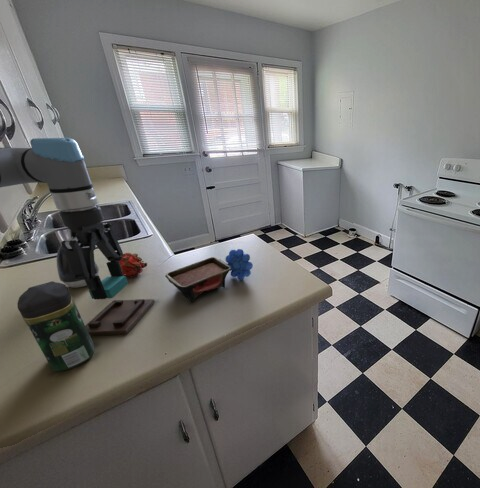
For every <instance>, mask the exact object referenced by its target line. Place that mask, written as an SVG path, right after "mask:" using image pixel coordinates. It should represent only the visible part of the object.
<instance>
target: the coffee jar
mask: <svg viewBox="0 0 480 488" xmlns="http://www.w3.org/2000/svg"><path fill="white" fill-rule="evenodd" d="M17 310H18V311H19V313H20V315H21V318H22V320H23V321H24V322H25V324H26V326H27V327H28V329H29V331H30V332H31V334H32V336H33V339H34V340H35V341H36V344H37V345H38V346H39V349H40V350H41V352H42V354H43V356H44V358H45V360H46V361H47V363H48V366H49V367H50V368H51V370H52V371H54V372H62V371H66V370H70V369H73V368H75V367H77V366H80V365H82V364H83V363H84V362H86V361H88V360H89V359H90V358H91V357H93V355H94V353H95V344H94V342H93V339H92V338H91V335H89V333H88V331H87V329H86V327H85V325H86V324H85V322H84V320H83V317H82V315H81V314H80V311H79V309H78V307H77V305H76V302H75V301H74V298H73V296H72V294H71V292H70V290H69V286H67V285H66V284H64V283H63V282H57V281H49V282H45V283H41V284H37V285H33V286H30V287H28V288H27V289H26V290H25V291H24V292H23V293H22V294H21V295H20V296H19V297H18V300H17Z"/></svg>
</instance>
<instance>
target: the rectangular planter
mask: <svg viewBox="0 0 480 488" xmlns="http://www.w3.org/2000/svg"><path fill="white" fill-rule="evenodd" d="M230 269H231V267H230V266H229V265H228V263H227V262H226V261H224V260H222V259H219V258H218V257H216V256H215V257H214V256H212V257H208V258H205V259H203V260H200V261H197V262H194V263H190V264H188V265H186V266H183V267H180V268H178V269H174V270H172V271H169V272H167V273H166V274H165V275H164V277H165V278H166V279H167V280H168V282H169V284H172V285H173V286H174V287H175V288H176V289H177V290H179V292H180V293H181V294H182V295H183V296H184V297H185V298H186V299H187V300H188V301H189V302H190V303H191V304H193V303H194V301H195V300H196V299H197V298H198V297H199V296H200V295H201V294H202V293H203V292H209V291H212V290H214V289H218V288H223V289H225V288H226V278H227V275H228V274H229V272H231V271H230Z"/></svg>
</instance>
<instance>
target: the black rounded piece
mask: <svg viewBox="0 0 480 488" xmlns="http://www.w3.org/2000/svg"><path fill="white" fill-rule="evenodd" d="M94 262H95V275H96V276H99V271H100V268H99V266H98V264H97V263H96V260H94ZM56 271H57V275H58V278H59V280H60V282H61V283H62V284H65V285H66V286H67V287H68V288H69V287H70V288H82V287H87V284H86V282H85V280H75V279H74V275H73V272H72V269H71V266H70V262H69V259H68V256H67V252H66V250H65V249H64V247H63V246H62V244H61V245H60V246H59V248H58V250H57V253H56ZM88 274H89V273H88Z"/></svg>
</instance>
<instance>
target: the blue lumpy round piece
mask: <svg viewBox="0 0 480 488" xmlns="http://www.w3.org/2000/svg"><path fill="white" fill-rule="evenodd" d="M224 259H225V260H224V262H225V263H227V264H228V265H229V266H230V267H231V269H230V271H229V272H230V276H231V277H232V278H237V279H238V280H244V279H245V278H248V277H250V275H251V274H252V272H251V270H252V269H253V267H254V265H253V263H252V262H251V261H250V259H251V256H250V255H249V254H248V253H245V251H244V250H243V249H242V248H238V249H237V250H236V249H233V248H232V249H230V251H229V252H228V255H226V256H225V258H224Z"/></svg>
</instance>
